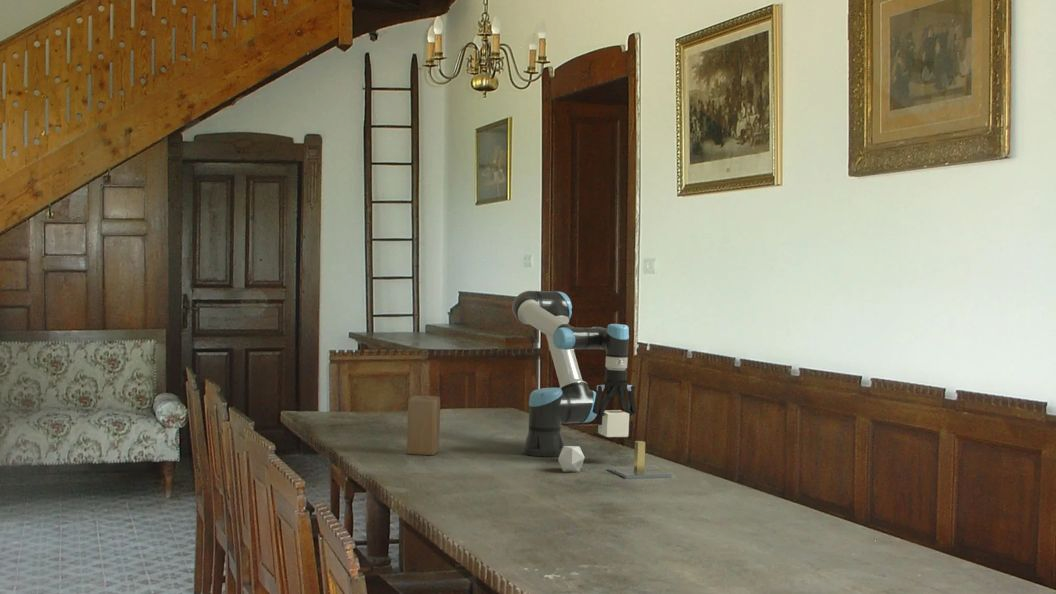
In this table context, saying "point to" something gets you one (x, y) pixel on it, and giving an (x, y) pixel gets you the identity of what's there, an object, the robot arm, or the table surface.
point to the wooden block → (423, 425)
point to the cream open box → (616, 423)
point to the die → (571, 458)
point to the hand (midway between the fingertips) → (613, 434)
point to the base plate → (639, 466)
